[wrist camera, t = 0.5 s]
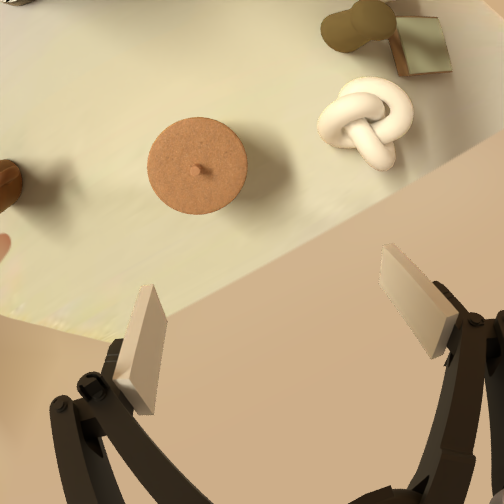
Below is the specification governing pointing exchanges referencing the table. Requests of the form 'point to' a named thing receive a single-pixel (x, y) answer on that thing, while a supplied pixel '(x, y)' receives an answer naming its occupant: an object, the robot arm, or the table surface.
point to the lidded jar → (197, 165)
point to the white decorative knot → (368, 120)
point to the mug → (9, 184)
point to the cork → (358, 25)
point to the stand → (419, 46)
